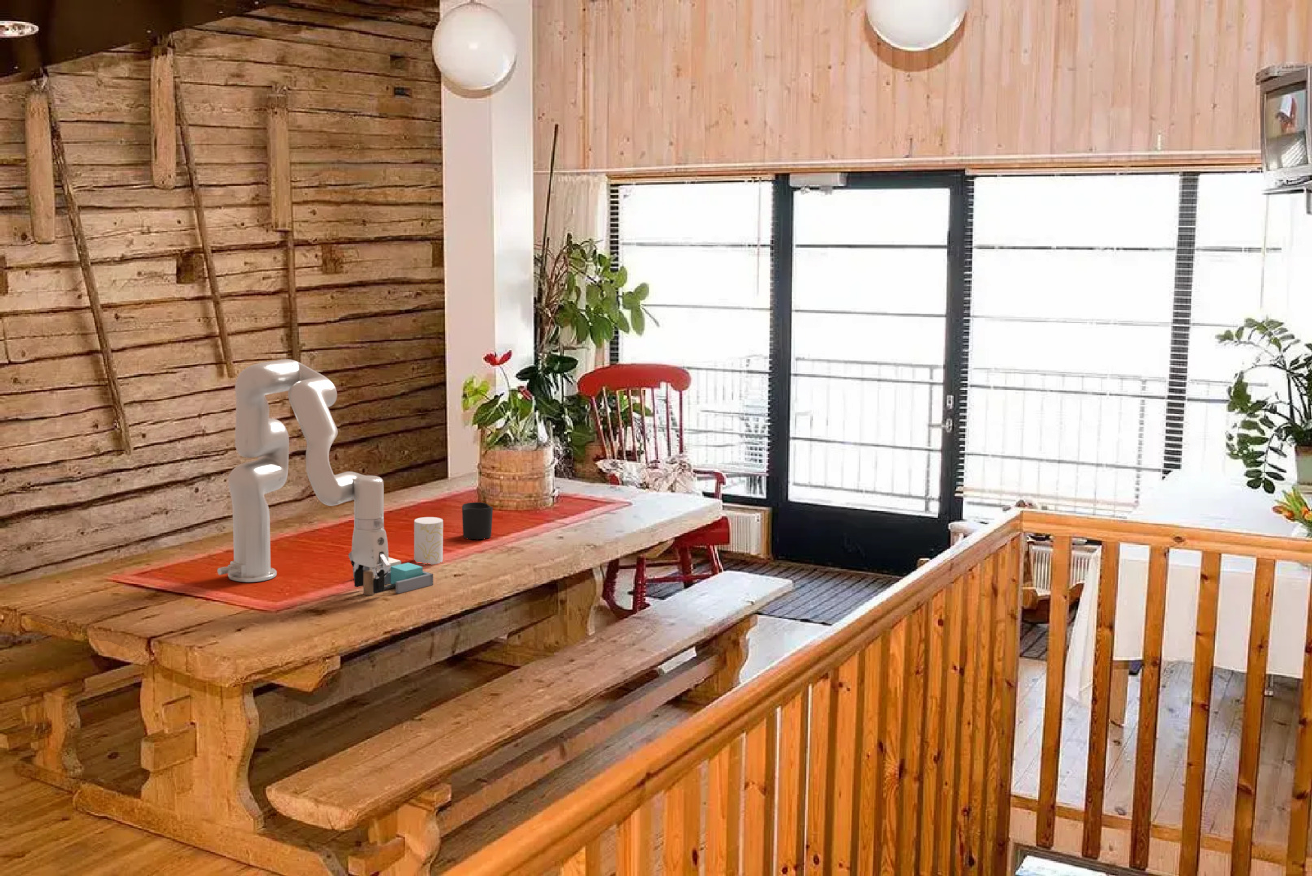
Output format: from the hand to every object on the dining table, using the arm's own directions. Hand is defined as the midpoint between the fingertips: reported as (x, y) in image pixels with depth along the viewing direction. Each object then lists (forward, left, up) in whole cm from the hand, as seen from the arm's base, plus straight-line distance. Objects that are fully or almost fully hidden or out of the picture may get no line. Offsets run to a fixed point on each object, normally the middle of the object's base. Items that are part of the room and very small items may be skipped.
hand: (369, 588), depth 342 cm
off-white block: (+12, +9, -2) cm, 15 cm away
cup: (+32, +15, -2) cm, 36 cm away
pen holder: (+61, +26, -2) cm, 67 cm away
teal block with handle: (+7, 0, -1) cm, 7 cm away
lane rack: (+11, +5, -1) cm, 12 cm away
